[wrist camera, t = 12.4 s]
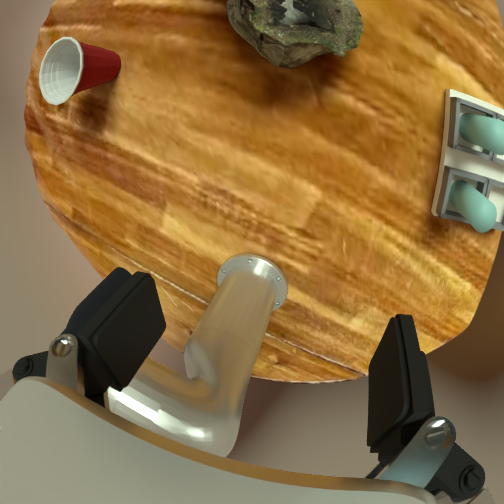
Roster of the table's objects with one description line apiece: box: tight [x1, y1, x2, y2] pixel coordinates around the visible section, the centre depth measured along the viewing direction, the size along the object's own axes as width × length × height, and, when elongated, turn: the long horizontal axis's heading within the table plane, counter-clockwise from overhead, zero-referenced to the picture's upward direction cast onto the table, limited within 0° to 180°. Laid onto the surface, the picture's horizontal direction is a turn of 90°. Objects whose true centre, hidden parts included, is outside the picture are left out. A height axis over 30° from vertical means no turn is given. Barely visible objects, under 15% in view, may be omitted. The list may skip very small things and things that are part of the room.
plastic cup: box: [39, 37, 121, 105], centre depth 28 cm, size 11×11×12 cm
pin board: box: [431, 89, 504, 233], centre depth 22 cm, size 18×14×10 cm
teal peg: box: [459, 113, 504, 155], centre depth 20 cm, size 4×4×8 cm
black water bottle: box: [59, 267, 132, 339], centre depth 46 cm, size 6×6×30 cm
